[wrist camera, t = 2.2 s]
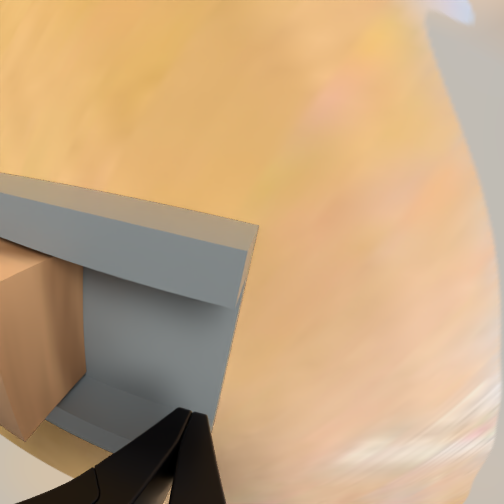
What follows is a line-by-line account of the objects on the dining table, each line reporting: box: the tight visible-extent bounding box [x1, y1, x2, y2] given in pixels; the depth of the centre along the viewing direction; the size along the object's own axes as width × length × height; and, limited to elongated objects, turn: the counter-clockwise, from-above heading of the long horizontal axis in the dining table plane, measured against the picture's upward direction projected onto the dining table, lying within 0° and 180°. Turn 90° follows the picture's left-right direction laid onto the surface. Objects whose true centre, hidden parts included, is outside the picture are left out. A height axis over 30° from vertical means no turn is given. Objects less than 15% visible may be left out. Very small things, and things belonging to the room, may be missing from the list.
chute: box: [0, 173, 259, 453], centre depth 11 cm, size 15×10×4 cm, turn 78°
